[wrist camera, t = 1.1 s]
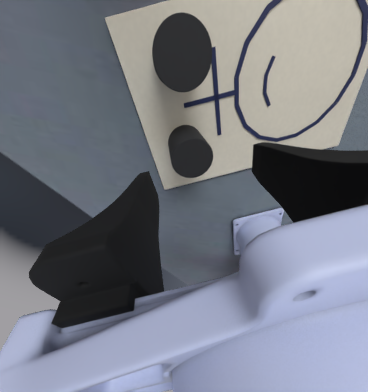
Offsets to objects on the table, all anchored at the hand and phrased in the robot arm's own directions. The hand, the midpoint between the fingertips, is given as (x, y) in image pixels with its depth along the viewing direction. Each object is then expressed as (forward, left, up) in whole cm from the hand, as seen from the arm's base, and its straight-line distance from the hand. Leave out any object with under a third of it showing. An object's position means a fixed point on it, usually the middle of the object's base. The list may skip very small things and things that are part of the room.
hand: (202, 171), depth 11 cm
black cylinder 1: (+6, 0, -7) cm, 10 cm away
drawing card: (+2, -7, -8) cm, 10 cm away
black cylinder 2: (0, 0, -7) cm, 7 cm away
